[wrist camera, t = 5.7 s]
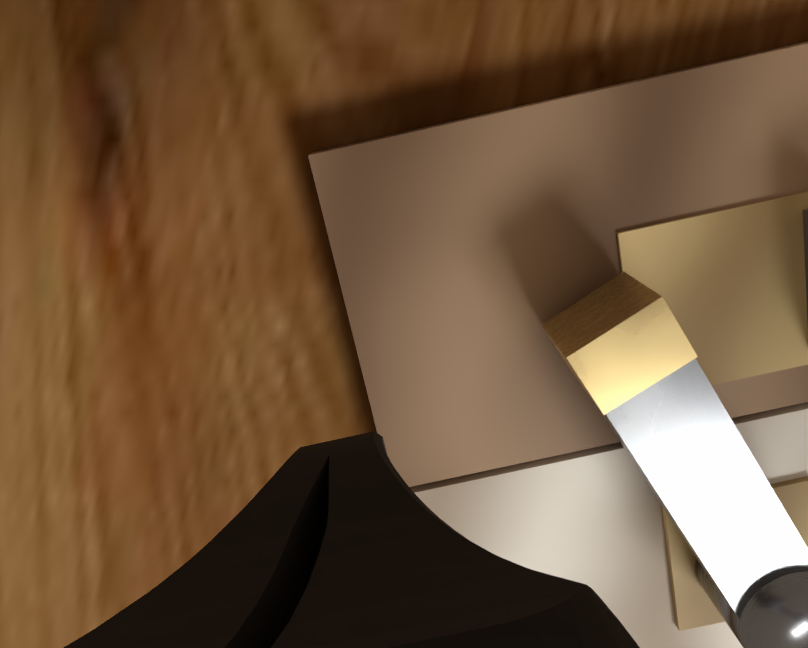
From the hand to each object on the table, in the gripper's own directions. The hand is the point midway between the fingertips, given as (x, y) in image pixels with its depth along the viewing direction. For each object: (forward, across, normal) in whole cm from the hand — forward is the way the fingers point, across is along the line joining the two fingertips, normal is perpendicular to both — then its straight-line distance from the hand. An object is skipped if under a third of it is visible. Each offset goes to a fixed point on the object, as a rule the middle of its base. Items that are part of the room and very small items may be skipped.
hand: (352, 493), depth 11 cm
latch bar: (+6, -8, +4) cm, 11 cm away
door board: (+7, -8, +4) cm, 11 cm away
